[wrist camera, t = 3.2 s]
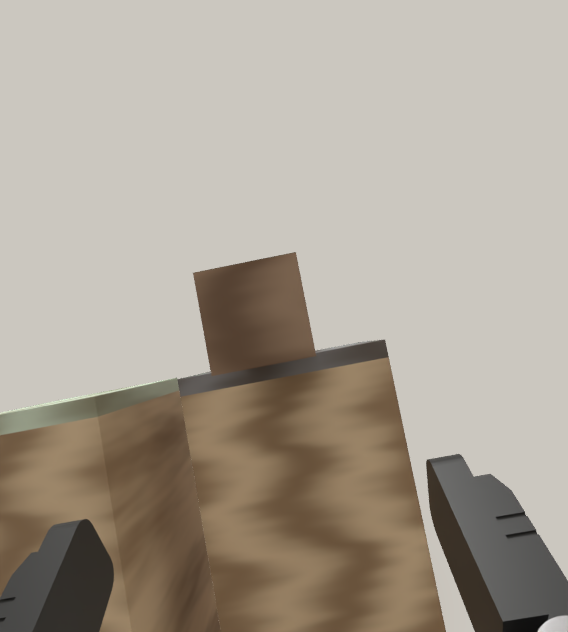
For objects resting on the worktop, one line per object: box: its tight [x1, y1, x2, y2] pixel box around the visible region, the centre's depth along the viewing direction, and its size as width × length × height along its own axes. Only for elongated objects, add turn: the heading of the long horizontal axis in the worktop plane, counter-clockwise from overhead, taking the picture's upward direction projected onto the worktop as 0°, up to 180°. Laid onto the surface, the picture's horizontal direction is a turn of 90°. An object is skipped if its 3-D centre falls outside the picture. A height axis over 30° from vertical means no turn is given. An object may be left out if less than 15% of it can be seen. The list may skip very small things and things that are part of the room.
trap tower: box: [177, 340, 446, 632], centre depth 32 cm, size 12×14×32 cm
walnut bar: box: [193, 252, 316, 376], centre depth 30 cm, size 4×24×4 cm, turn 176°
